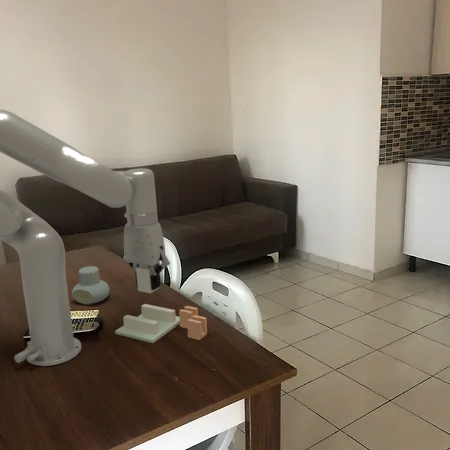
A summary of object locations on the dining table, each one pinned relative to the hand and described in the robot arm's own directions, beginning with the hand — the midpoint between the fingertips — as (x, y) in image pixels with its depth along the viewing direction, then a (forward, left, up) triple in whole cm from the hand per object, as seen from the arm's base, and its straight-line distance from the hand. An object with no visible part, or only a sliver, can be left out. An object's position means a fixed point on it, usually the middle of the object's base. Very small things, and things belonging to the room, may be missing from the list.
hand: (148, 286), depth 128 cm
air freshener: (+7, +27, -12) cm, 30 cm away
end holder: (0, 0, -11) cm, 11 cm away
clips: (+3, -11, -11) cm, 16 cm away
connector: (0, 0, -1) cm, 1 cm away
